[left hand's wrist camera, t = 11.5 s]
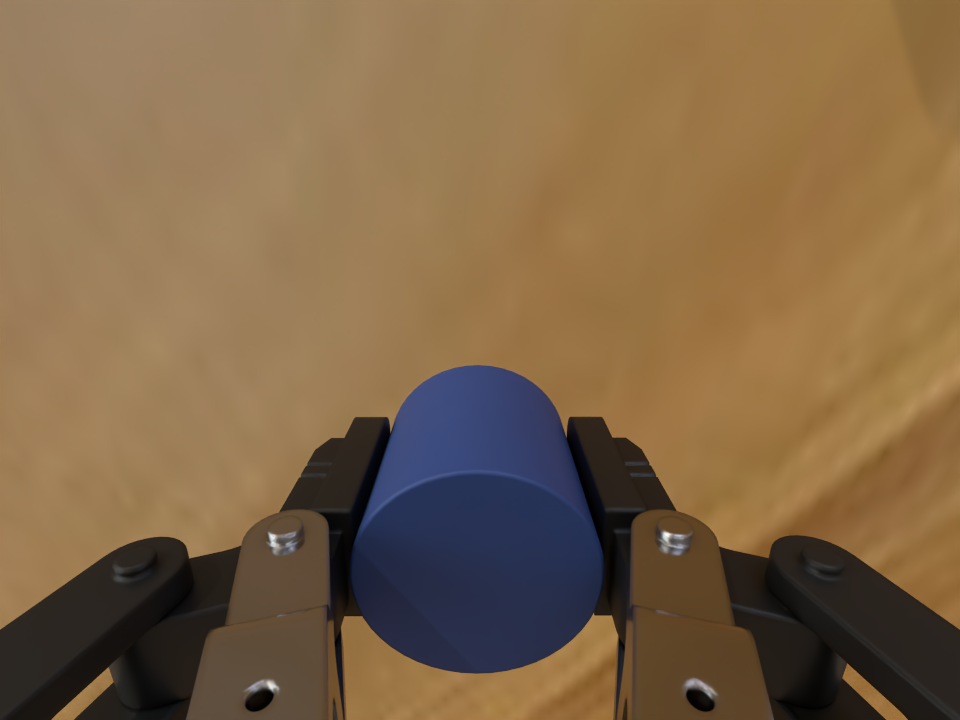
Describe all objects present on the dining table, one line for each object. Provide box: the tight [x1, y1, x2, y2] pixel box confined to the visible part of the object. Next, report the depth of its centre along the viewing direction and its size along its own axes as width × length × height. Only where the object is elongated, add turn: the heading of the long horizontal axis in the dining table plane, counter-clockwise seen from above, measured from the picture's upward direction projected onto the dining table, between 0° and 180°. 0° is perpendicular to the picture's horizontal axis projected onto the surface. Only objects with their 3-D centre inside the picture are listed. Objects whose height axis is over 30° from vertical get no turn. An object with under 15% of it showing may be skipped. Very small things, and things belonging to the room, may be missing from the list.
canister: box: [349, 365, 605, 673], centre depth 10 cm, size 4×4×4 cm
